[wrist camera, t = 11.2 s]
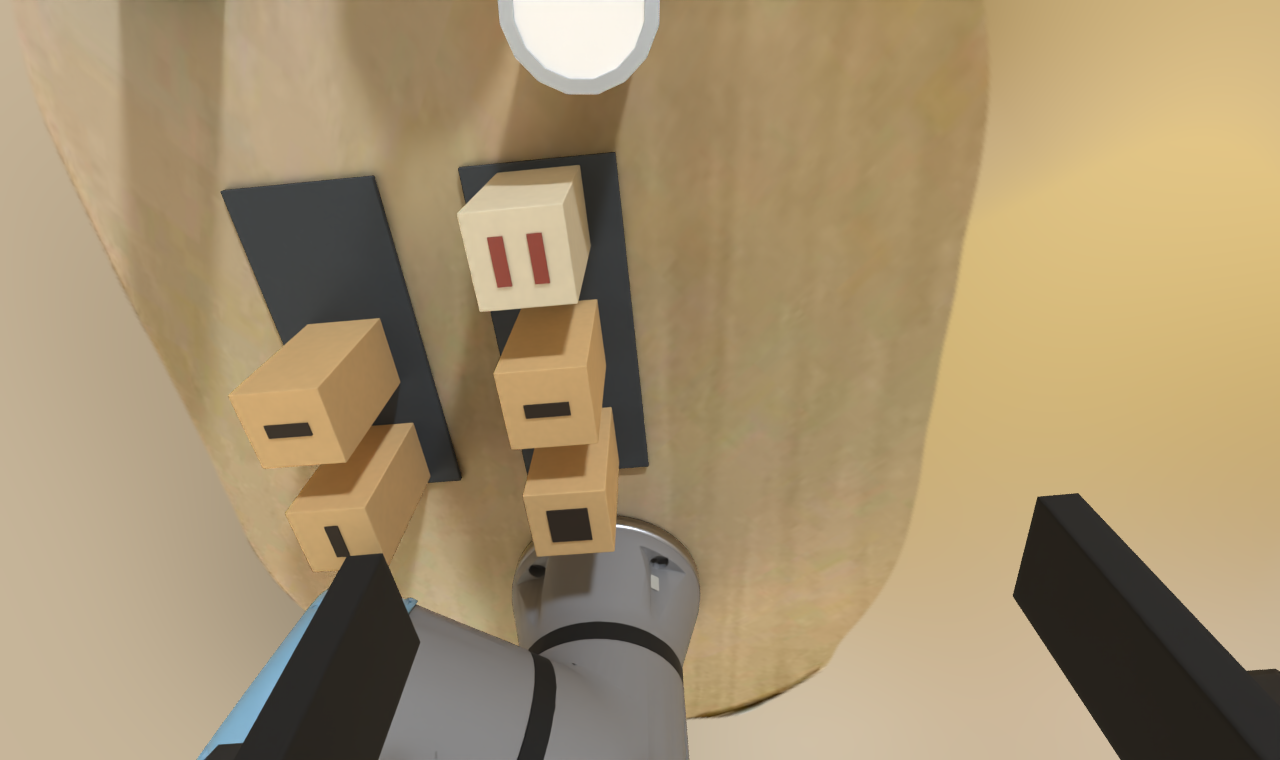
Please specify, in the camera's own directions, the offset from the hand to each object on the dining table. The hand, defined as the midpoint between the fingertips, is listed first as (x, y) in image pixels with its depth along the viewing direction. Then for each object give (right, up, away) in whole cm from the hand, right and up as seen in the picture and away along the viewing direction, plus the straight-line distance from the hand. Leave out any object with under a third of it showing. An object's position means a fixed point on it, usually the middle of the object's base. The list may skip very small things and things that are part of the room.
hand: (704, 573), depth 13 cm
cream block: (-7, +14, +24) cm, 28 cm away
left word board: (-20, +6, +29) cm, 36 cm away
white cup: (-4, +23, +19) cm, 30 cm away
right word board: (-6, +7, +28) cm, 30 cm away
